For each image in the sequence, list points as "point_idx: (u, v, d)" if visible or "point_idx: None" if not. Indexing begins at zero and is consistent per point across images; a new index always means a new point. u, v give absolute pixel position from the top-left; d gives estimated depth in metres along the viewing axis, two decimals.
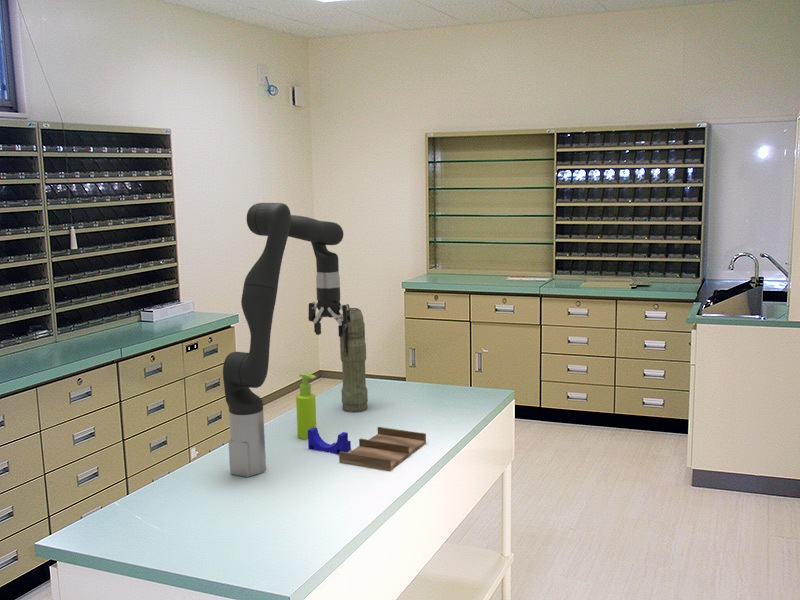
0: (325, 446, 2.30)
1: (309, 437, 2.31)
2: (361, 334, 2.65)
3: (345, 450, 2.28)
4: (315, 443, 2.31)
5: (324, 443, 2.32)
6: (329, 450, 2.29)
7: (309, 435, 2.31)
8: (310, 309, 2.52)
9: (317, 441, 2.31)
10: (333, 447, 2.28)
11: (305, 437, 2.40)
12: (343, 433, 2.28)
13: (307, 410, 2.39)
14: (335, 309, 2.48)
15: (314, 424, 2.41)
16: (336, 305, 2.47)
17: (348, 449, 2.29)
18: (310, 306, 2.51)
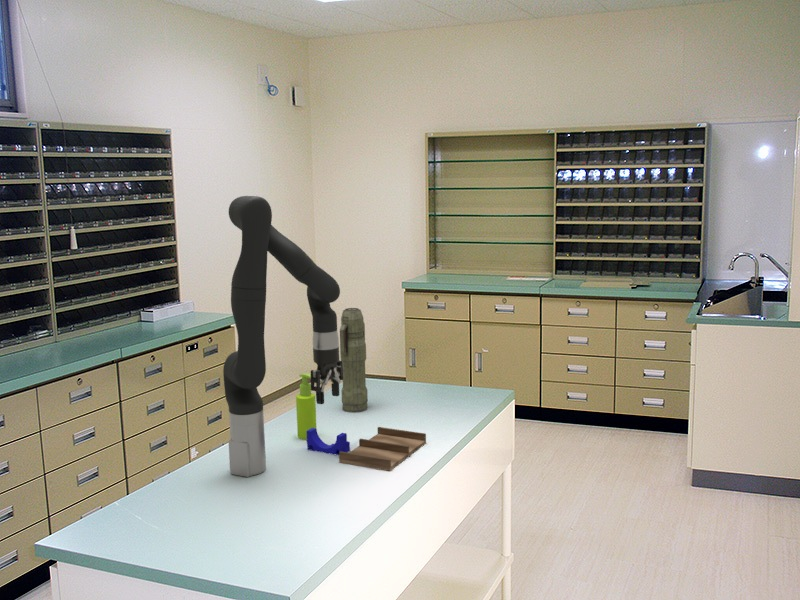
0: (324, 447, 2.30)
1: (308, 438, 2.31)
2: (361, 334, 2.65)
3: (344, 451, 2.27)
4: (314, 444, 2.30)
5: (323, 444, 2.31)
6: (328, 451, 2.28)
7: (308, 436, 2.31)
8: (319, 377, 2.22)
9: (316, 442, 2.30)
10: (332, 448, 2.27)
11: (305, 437, 2.40)
12: (342, 434, 2.27)
13: (307, 410, 2.39)
14: (335, 368, 2.30)
15: (314, 424, 2.41)
16: (335, 363, 2.30)
17: (347, 450, 2.29)
18: (319, 374, 2.22)
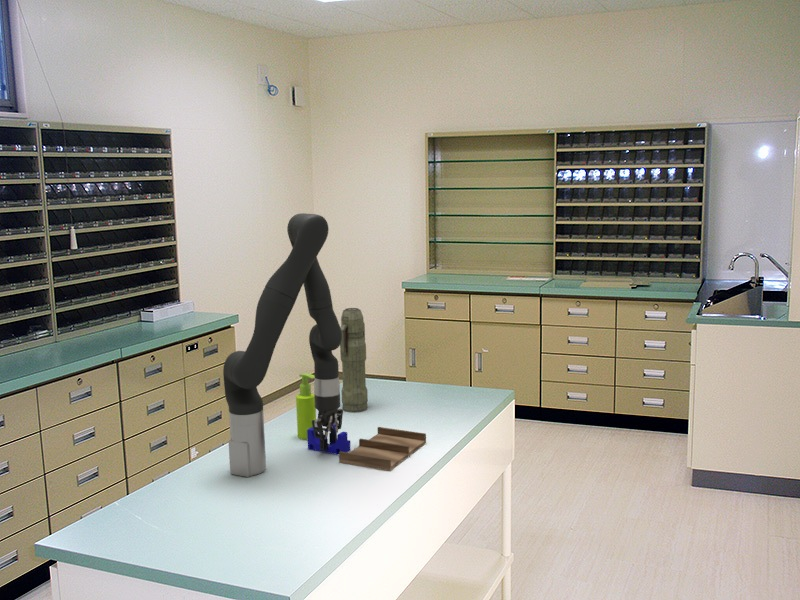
0: None
1: (309, 437, 2.31)
2: (361, 334, 2.65)
3: (345, 450, 2.28)
4: (315, 443, 2.30)
5: None
6: (329, 450, 2.28)
7: (309, 435, 2.31)
8: (321, 427, 2.24)
9: (316, 441, 2.31)
10: (333, 447, 2.28)
11: (305, 437, 2.40)
12: (343, 433, 2.28)
13: (307, 410, 2.39)
14: (336, 413, 2.32)
15: None
16: (337, 409, 2.32)
17: (348, 449, 2.29)
18: (320, 424, 2.24)
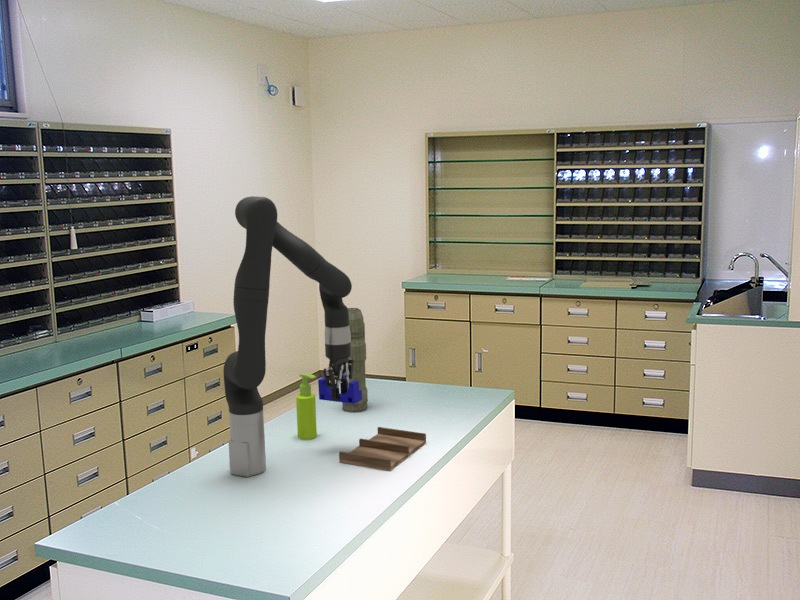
0: None
1: (320, 387, 2.29)
2: (361, 334, 2.65)
3: (357, 399, 2.26)
4: (326, 392, 2.29)
5: None
6: (340, 399, 2.27)
7: (320, 385, 2.29)
8: (332, 375, 2.23)
9: (327, 391, 2.29)
10: (344, 396, 2.26)
11: (305, 437, 2.40)
12: (354, 381, 2.26)
13: (307, 410, 2.39)
14: (347, 363, 2.30)
15: (314, 424, 2.41)
16: (347, 359, 2.30)
17: (359, 398, 2.28)
18: (332, 372, 2.22)
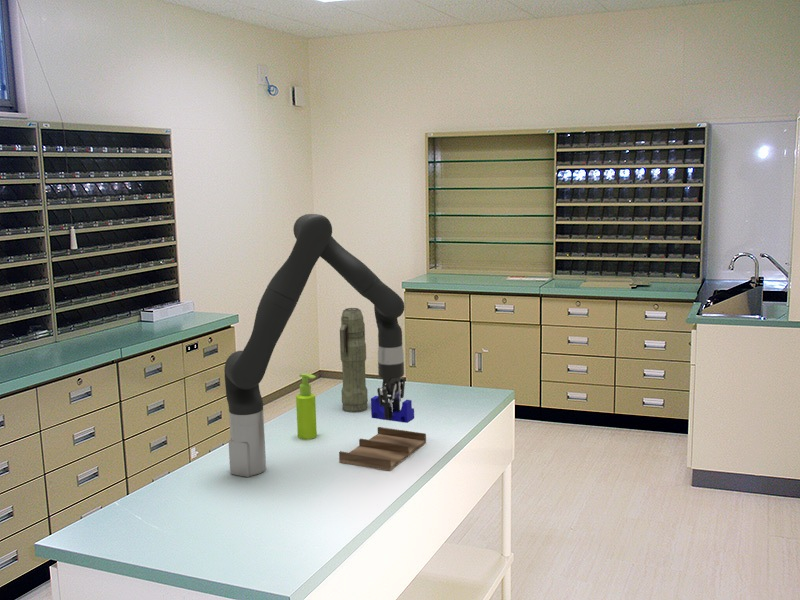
0: None
1: (372, 405, 2.32)
2: (361, 334, 2.65)
3: (409, 418, 2.28)
4: (378, 411, 2.31)
5: None
6: (393, 418, 2.29)
7: (372, 403, 2.32)
8: (386, 395, 2.25)
9: (380, 409, 2.31)
10: (397, 415, 2.28)
11: (305, 437, 2.40)
12: (407, 400, 2.28)
13: (307, 410, 2.39)
14: (399, 382, 2.32)
15: (314, 424, 2.41)
16: (400, 378, 2.33)
17: (412, 417, 2.30)
18: (386, 392, 2.25)
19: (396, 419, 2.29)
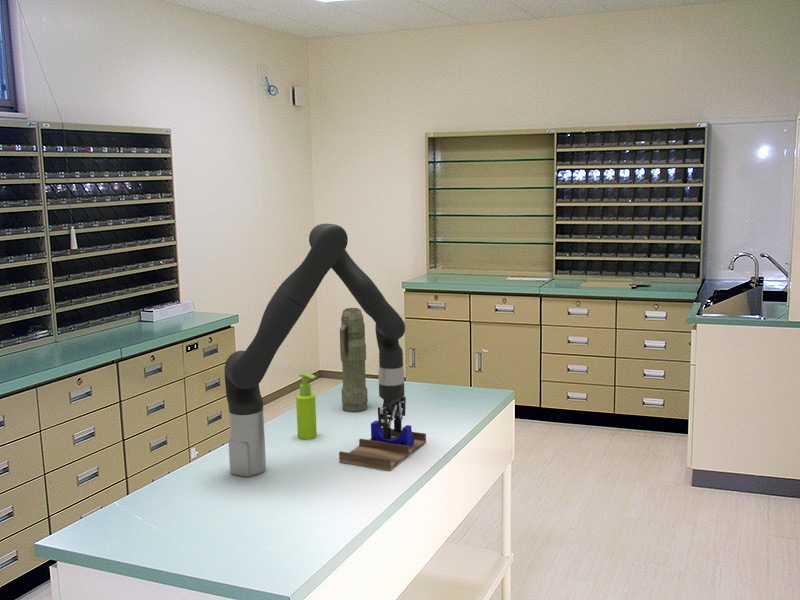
0: None
1: (372, 430, 2.33)
2: (361, 334, 2.65)
3: (409, 443, 2.29)
4: (378, 436, 2.32)
5: None
6: (393, 443, 2.30)
7: (372, 428, 2.33)
8: (386, 414, 2.25)
9: (380, 434, 2.32)
10: (397, 440, 2.29)
11: (305, 437, 2.40)
12: (407, 426, 2.29)
13: (307, 410, 2.39)
14: (399, 402, 2.33)
15: (314, 424, 2.41)
16: (400, 398, 2.34)
17: (412, 442, 2.31)
18: (386, 411, 2.25)
19: None
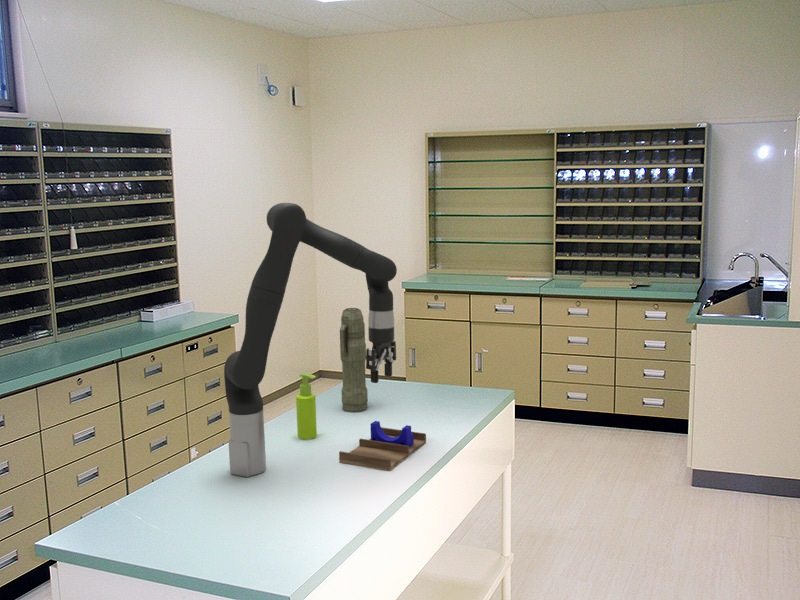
0: (388, 439, 2.31)
1: (372, 430, 2.32)
2: (361, 334, 2.65)
3: (409, 444, 2.29)
4: (378, 436, 2.32)
5: (387, 436, 2.33)
6: (393, 443, 2.30)
7: (372, 428, 2.32)
8: (374, 356, 2.23)
9: (379, 435, 2.32)
10: (397, 440, 2.29)
11: (305, 437, 2.40)
12: (407, 426, 2.29)
13: (307, 410, 2.39)
14: None
15: (314, 424, 2.41)
16: (390, 343, 2.31)
17: (411, 442, 2.31)
18: (375, 352, 2.23)
19: None
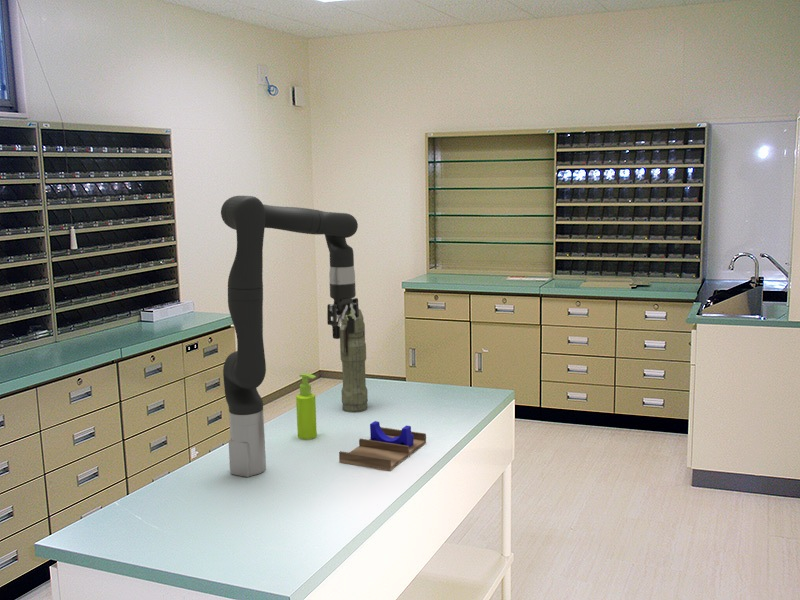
0: (388, 439, 2.31)
1: (371, 431, 2.32)
2: (361, 334, 2.65)
3: (409, 444, 2.29)
4: (378, 437, 2.31)
5: (386, 437, 2.33)
6: None
7: (371, 429, 2.32)
8: (335, 311, 2.24)
9: (379, 435, 2.32)
10: (397, 440, 2.29)
11: (305, 437, 2.40)
12: (407, 426, 2.29)
13: (307, 410, 2.39)
14: (351, 304, 2.32)
15: (314, 424, 2.41)
16: (351, 300, 2.32)
17: (411, 442, 2.30)
18: (335, 308, 2.24)
19: None
